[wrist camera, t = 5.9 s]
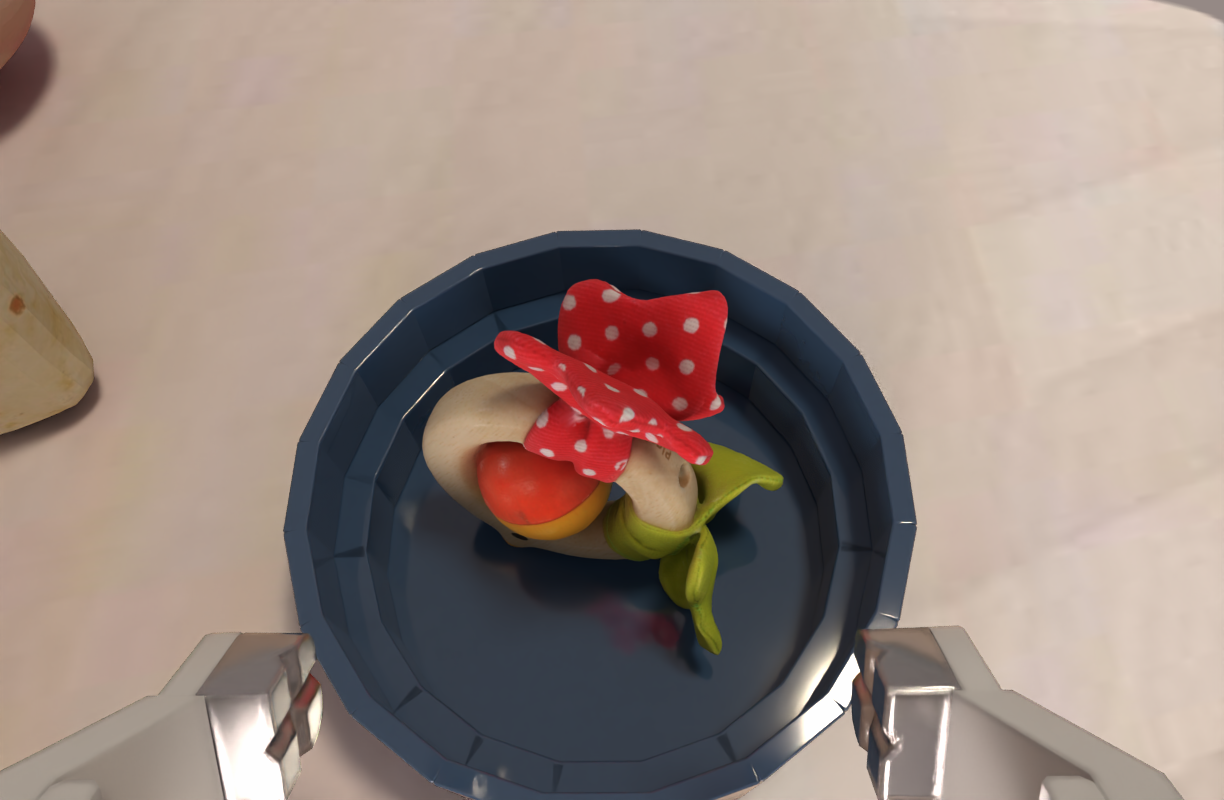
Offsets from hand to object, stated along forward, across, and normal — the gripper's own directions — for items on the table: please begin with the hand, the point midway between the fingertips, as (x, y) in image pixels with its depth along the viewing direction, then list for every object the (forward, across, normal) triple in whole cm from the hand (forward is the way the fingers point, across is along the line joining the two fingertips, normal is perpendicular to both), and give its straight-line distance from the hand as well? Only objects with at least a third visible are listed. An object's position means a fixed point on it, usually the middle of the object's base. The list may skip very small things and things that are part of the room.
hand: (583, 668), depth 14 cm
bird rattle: (+13, 0, +5) cm, 14 cm away
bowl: (+13, 0, +5) cm, 14 cm away
